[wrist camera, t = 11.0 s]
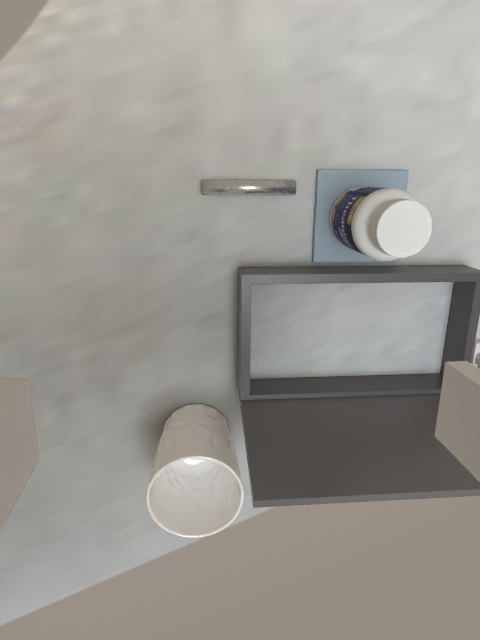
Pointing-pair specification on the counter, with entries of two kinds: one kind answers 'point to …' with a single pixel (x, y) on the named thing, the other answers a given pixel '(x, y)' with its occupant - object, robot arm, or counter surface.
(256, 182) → the rod
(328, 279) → the case
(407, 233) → the pill bottle
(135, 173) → the counter surface
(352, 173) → the mat
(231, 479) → the white cup
